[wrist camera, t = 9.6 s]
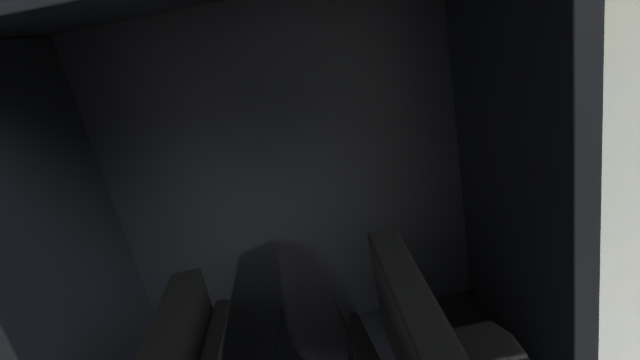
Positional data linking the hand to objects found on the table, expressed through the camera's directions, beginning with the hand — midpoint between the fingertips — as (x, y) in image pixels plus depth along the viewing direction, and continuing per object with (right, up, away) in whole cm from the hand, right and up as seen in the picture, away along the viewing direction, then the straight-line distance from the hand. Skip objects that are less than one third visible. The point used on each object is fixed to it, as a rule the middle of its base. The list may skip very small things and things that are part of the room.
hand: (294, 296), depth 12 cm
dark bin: (-1, +3, +10) cm, 10 cm away
